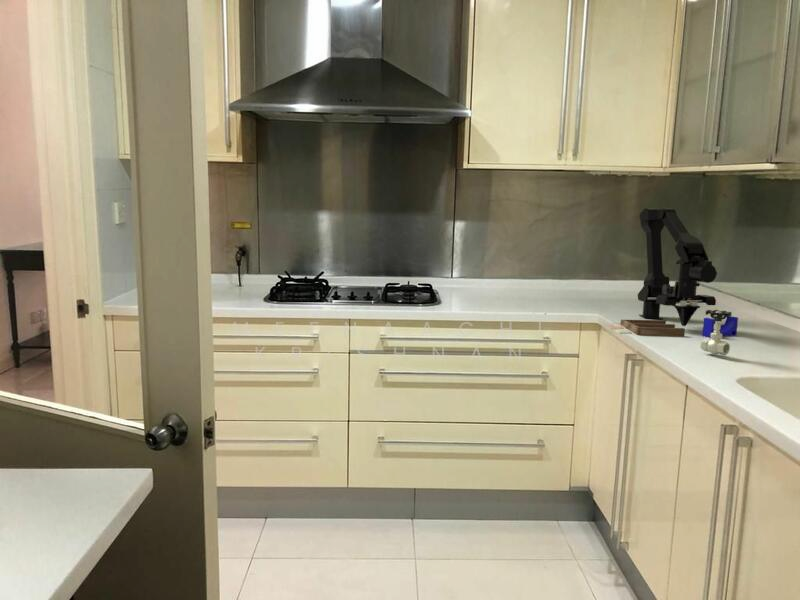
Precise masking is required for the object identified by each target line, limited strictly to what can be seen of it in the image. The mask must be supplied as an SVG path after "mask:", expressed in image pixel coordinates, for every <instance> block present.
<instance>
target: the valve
mask: <svg viewBox="0 0 800 600" xmlns="http://www.w3.org/2000/svg"><path fill="white" fill-rule="evenodd" d="M705 315H707V316H708V315H710V318H711V319H714V321H715V323H716V324H714V329H715V331H713V333H711V335H710V337H712V338H709V337H704V338H703V339H702V341H701V342H700V349H701V350H703V351H704V352H708V353H710V354H713V355H718V354H719V355H721V356H727V355H728V354H729V353H730V351H731V345H730V343H729V342H727V341H725V340H724V341H723V340H722V339H723V337H722V334H721V333H720V331H719V330H720V328H721V325H722V324H720V322H722V321H723V320H726V318H727V317H730V316H732V311H727V310H719V309H714V310H712V309H707V310H705Z"/></svg>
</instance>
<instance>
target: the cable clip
mask: <svg viewBox="0 0 800 600" xmlns="http://www.w3.org/2000/svg"><path fill="white" fill-rule="evenodd" d="M738 321H739V317H737V316H732V315H731V316H730V317H726V318H725V322H724V324H721V328H720V330H719V331H720V333H721V334H722V338H725V337H734V336H737V332H738V331H737V330H738V323H739V322H738ZM702 324H703V326H702V337H704V336H705V337H704V338H709V339H711V338H712V337H710V335H711V333H713V331H715V329H714V324H716V321H714V319H713V318H712V317H703V323H702Z"/></svg>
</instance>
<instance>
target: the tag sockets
mask: <svg viewBox="0 0 800 600" xmlns="http://www.w3.org/2000/svg"><path fill="white" fill-rule="evenodd" d="M608 327H609V328H610V329H615V332H617V333H619V334H627V335H628V334H630V335H632V334H634V335H637V336H655V337H658V336H660V337H685V333H686V328H684V327H676V324H674V323H667V320H663V319H620V325H619V326H618V325H609V326H608Z"/></svg>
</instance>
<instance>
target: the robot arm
mask: <svg viewBox="0 0 800 600" xmlns="http://www.w3.org/2000/svg"><path fill="white" fill-rule="evenodd" d="M639 221H640V226H641V228H642V230H643V232H644V233H645V237H646V256H647V257H646V258H647V259H646V260H647V274H646V276H645V278H644V279H643V287H642V288H641V289H640V291H639V292H638V293H637V301H641V302H643V304H642V314H638V317H641V318H643V319H644V320H663V319H664V318H663V317H662V316H660V312H661V311H660V310H661V305H663V306H667V307H669V306H672V307H674V308H675V310H676V312H677V314H678V317H679V320H680V324H681V325H680V326H682V327H686V326H687V325H688V324H689V322H690V320H691V318H692V317H693V315H694V313H695V312H696V311H697V310H698V309H700V308H701V306H700V305H698V304H699V303H700V304H701V303H703V304H704V303H705V304H706V306H716V304H717V300H716V297H715V296H712V295H707V294H697V288H698V287H700V282H701V283H706V284H710V283H712V282H713V281H715V279H716V277H717V275H718V272H717V270H716V267H715V266H714V265H713V262H712V260H709V256H708V254H707V251H706V250H705V246H704V244H703V243H702V241H701V240H700V239H698V237H695V236H694V235H693V234H690V233H689V231H688V229H687V228H686V226H685V225H684V223H683V222H682V220H681V219H680V217H679V216H678V215H677V211H676V209H674V208H671V207H669V208H668V207H661V208H647V207H646V208H644V209H642V211H641V212H640V213H639ZM664 228H666V229H667V231H668V232H669V234H670V235H671V237H672V238H673V240H674V242H675V245H674V249H675V251H676V253H677V256H678V257H679V259H678V260H676V262H675V264H676V265H679V268H678V280H675V282H674V285H673V286H671V284H670V276H666V275H665V273H664V269H663V268H664V267H663V251H662V250H663V248H662V231H663V230H664Z"/></svg>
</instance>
